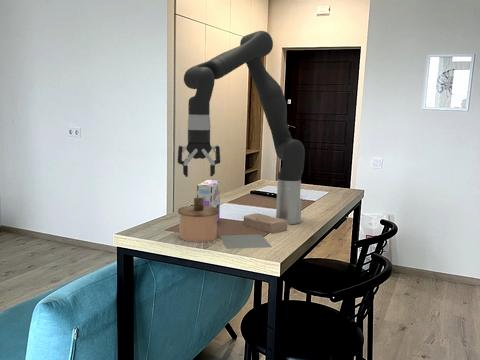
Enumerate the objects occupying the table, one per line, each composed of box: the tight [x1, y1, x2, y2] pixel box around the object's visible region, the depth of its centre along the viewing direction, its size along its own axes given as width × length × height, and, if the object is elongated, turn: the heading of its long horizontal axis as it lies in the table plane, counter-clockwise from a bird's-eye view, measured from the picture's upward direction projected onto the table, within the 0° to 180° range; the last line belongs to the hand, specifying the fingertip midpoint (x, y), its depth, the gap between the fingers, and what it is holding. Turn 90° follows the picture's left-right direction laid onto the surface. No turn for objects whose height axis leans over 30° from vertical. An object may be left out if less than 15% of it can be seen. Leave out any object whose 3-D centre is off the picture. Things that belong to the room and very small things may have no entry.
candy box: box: [196, 179, 221, 223], centre depth 179 cm, size 14×6×16 cm, turn 168°
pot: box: [179, 214, 218, 243], centre depth 161 cm, size 13×13×9 cm
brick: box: [242, 212, 289, 234], centre depth 176 cm, size 17×8×5 cm, turn 42°
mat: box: [219, 233, 273, 250], centre depth 157 cm, size 15×15×1 cm
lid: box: [177, 197, 219, 217], centre depth 160 cm, size 14×14×5 cm
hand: (198, 176), depth 158 cm, fingers open, 8 cm apart
